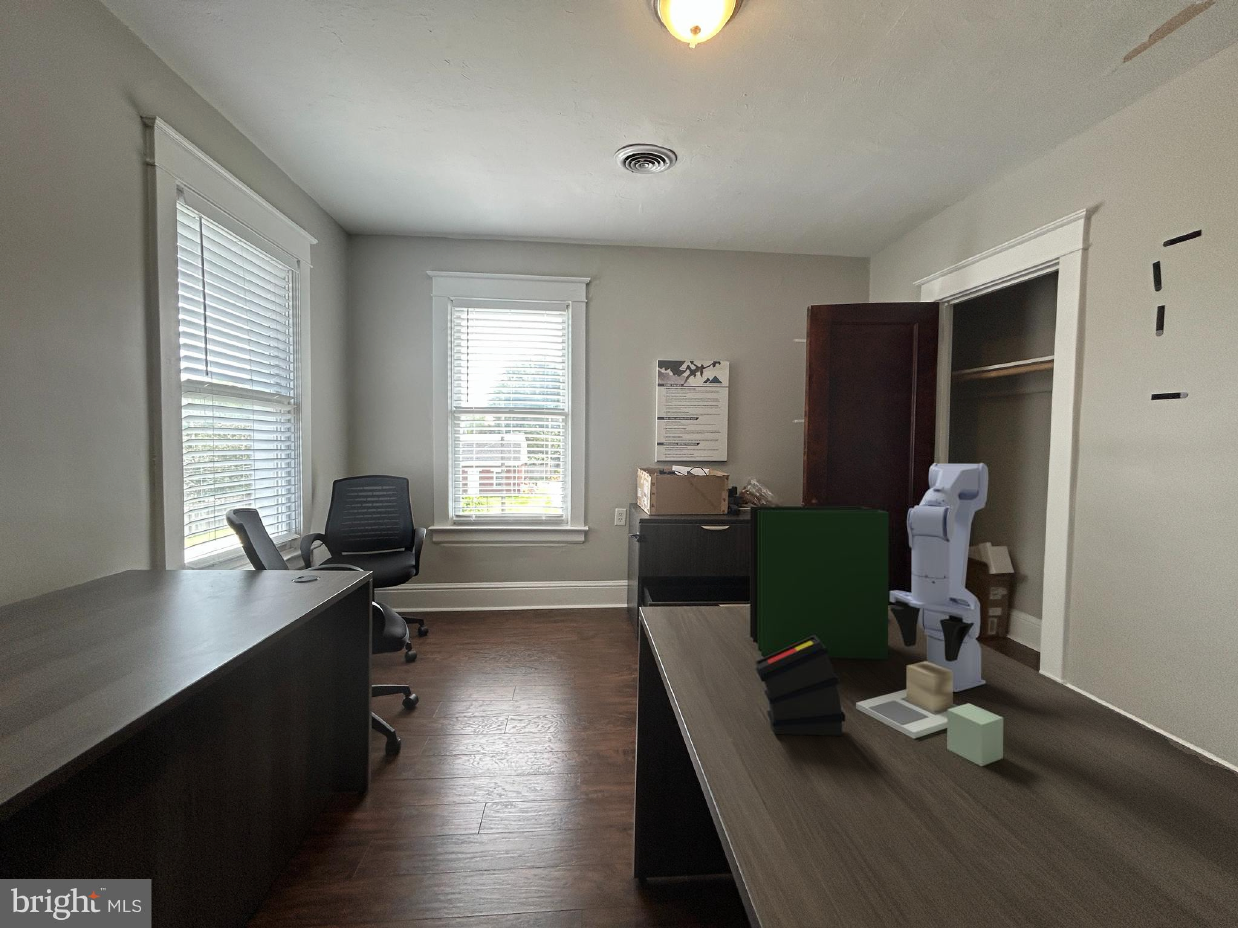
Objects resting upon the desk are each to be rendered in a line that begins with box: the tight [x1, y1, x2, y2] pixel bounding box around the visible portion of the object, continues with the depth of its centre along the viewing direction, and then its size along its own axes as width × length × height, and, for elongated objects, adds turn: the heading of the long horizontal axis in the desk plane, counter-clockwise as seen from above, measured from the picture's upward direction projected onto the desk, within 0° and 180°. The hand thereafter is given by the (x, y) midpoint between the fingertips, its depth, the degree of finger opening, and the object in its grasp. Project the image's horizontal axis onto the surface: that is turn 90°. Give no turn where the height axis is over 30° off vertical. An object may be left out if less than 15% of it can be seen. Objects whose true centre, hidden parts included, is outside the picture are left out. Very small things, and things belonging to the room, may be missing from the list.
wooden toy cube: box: [906, 660, 954, 712], centre depth 93 cm, size 5×5×6 cm
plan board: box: [855, 688, 959, 739], centre depth 91 cm, size 15×11×1 cm
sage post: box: [946, 703, 1004, 767], centre depth 79 cm, size 5×5×6 cm
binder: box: [749, 505, 890, 660], centre depth 124 cm, size 27×15×32 cm, turn 87°
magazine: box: [754, 635, 846, 737], centre depth 85 cm, size 4×13×15 cm, turn 87°
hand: (929, 652), depth 93 cm, fingers open, 7 cm apart
